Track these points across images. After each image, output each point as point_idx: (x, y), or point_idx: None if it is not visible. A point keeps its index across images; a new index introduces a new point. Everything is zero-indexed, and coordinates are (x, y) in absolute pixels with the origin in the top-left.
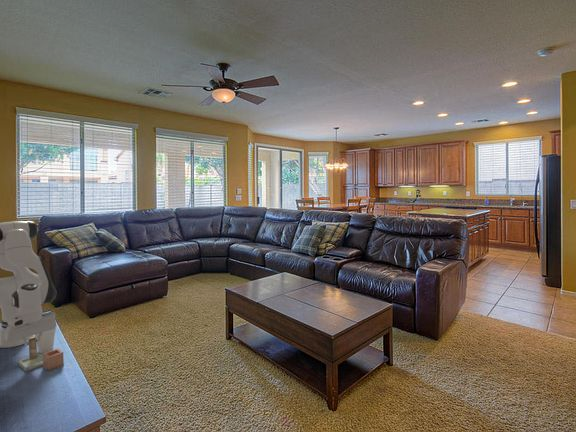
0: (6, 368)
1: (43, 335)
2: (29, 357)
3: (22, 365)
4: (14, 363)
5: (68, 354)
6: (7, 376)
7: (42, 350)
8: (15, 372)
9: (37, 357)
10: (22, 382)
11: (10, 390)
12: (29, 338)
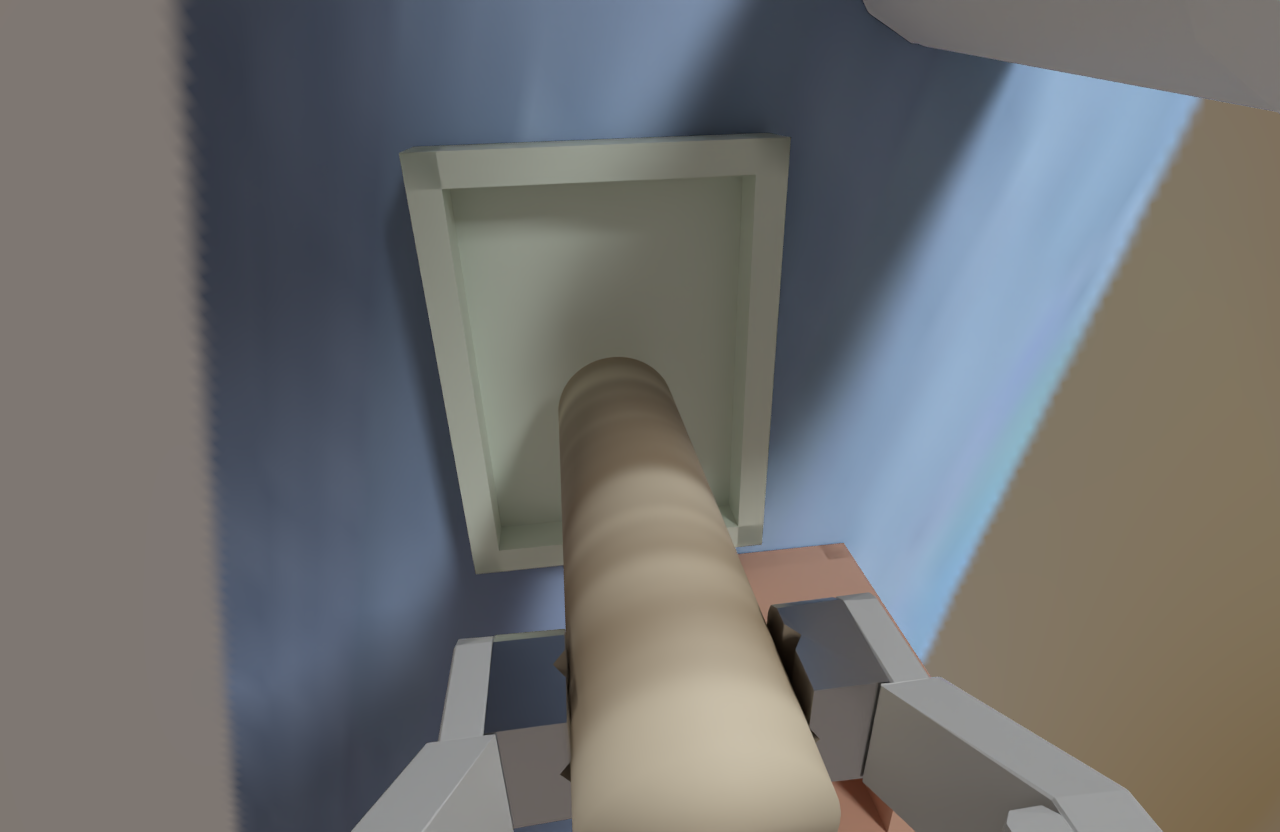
0: (220, 174)
1: (1248, 73)
2: (559, 426)
3: (448, 402)
4: (357, 50)
5: (1022, 437)
6: (249, 493)
7: (890, 9)
8: (352, 451)
9: (717, 208)
10: (403, 736)
11: (288, 802)
12: (614, 825)
